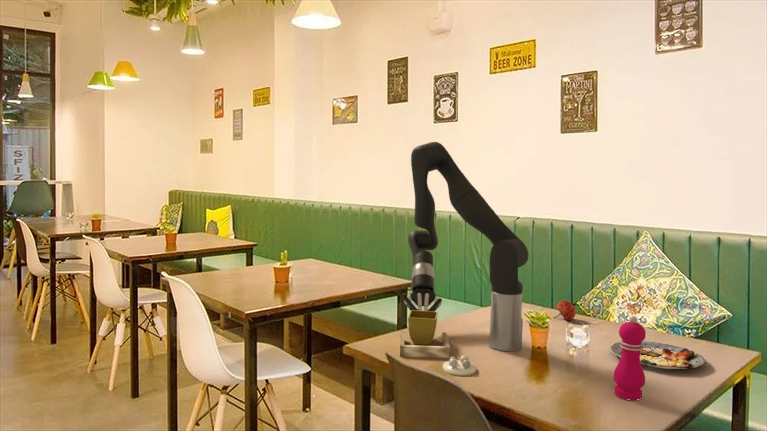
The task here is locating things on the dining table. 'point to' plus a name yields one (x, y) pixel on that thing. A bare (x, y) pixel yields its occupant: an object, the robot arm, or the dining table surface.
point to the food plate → (665, 356)
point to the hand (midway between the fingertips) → (422, 324)
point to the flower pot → (422, 326)
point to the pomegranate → (566, 309)
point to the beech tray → (425, 349)
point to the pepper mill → (630, 361)
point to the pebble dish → (459, 366)
